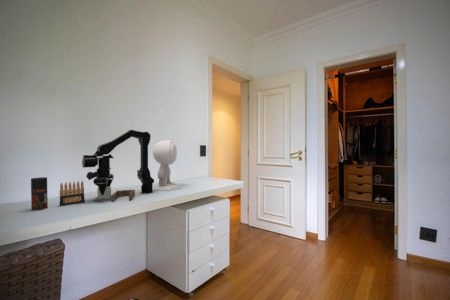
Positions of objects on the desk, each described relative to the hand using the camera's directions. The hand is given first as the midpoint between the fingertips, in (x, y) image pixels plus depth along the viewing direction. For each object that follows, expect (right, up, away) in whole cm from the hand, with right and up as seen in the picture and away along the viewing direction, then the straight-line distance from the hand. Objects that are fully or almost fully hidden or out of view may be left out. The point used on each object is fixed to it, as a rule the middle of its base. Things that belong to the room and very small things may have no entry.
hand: (104, 193), depth 122 cm
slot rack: (+11, -3, +1) cm, 11 cm away
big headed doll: (+25, -3, +32) cm, 41 cm away
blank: (0, -3, 0) cm, 3 cm away
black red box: (-21, -4, -19) cm, 28 cm away
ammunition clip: (-11, -4, -11) cm, 16 cm away
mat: (0, -3, 0) cm, 3 cm away
